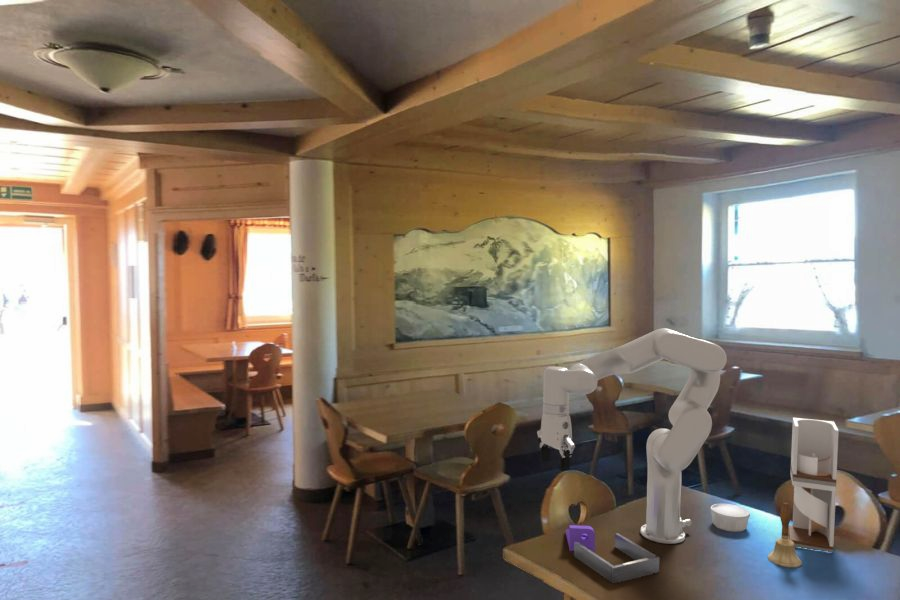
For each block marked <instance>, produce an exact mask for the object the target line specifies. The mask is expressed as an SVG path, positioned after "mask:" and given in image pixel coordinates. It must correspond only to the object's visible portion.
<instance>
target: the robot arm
mask: <svg viewBox="0 0 900 600" xmlns="http://www.w3.org/2000/svg"><path fill="white" fill-rule="evenodd" d="M727 359H728V358H727V354H726V352H725V350H724V349H723V348H722V346H720V345H719V344H716V343H714V342H711V341H709V340H705V339H701V338H700V339H699V338H695V337H692V336H689V335H686V334H683V333H681V332H678V331H675V330H673V329H670V328H666V327H664V328H662V327H661V328H658V329H656V330H653V331H651V332H648V333H647V334H644V335H642V336H640V337H638V338H635V339H634V340H632V341H629V342H627V343H625V344H622V345H620V346H617V347H614V348H611V349H609V350H607V351H603V352H600V353H596V354H594V355H593V356H590V357H587V358H585V359H584V360H582V361H578V362H577V363H575V364H573V365H572V366H571V367H570V368H569V369H568V368H567V367H563V366H547V367H546V368H544V371H543V394H542V395H543V396H542V397H543V399H542V400H543V401H542V402H543V403H542V415H541V423H540V429H539V430H536V431H537V432H536V434H537V441H538V443H539V448H540V451H539V452H540V455H539V456H540V458H539V459H540V460H539V461H540V462H548V461H550V460H551V448H553V449H555V450H559V451H558V452H559V454H560V457H559V471H561V472H564V471H565V472H567V471H569V470H570V469H571V467H570V466H571V465H570V464H571V463H570V462H571V457H572V456H573V453H574V450H575V448H576V445H575V443H574V442H573V432H572V431H573V429H572V420H571V415H570V414H569V413H570V412H569V409H570V408H569V407H570V393H571V394H578V395H588V394H591V393H593V392H594V391H595V390H596V388H597V386H598V381H600V380H602V379H604V378H607V377H609V376H614V375H628V374H633V373H637V372H638V371H640V370H643V369H644V368H647V367H649V366H651V365H653V364H655V363H658V362H661V361H662V360H666V361H669V362H671V363H674V364H676V365H679V366H683V367H686V368H689V376H688V378H687V381H686V382H685V385H684V386H683V388H682V390H681V392H680V393H679V394H678V396H677V398H676V399H675V400H674V402H673V404H671V407H670V408H669V410H668V420H669V422H670V424H671V425H672V427H671V428H670V429H669V428H658V429H655V430H653V431H651V433H650V434H649V436H648V438H647V440H646V447H645V448H646V461H647V481H646V512H645V514H646V515H645V520H646V521H645V524H643V525H642V526H641V527H640V532H639V533H640V534H641V536H643V537H644V538H646V539H647V540H649V541H652V542H655V543H660V544H668V545H669V544H680V543H682V542H684V541H685V539H686V532H685V531H684V530H683V529H684V528H685V527H690V526H692V525H693V522H692V520H691V519H690V518H687V519H682V517H681V500H682V497H681V496H682V472H683V471H684V470H685V469H686V468H688V466H690V465H691V463H692V462H693V460H694V459H695V458H696V456H697V454H698V453H699V451H701V450H700V449H701V448H702V446H703V445H704V443H705V442H706V441H707V439H708V438H709V435H710V433H711V431H712V426H713V421H712V416H711V414H710V413H709V411H708V409H709V407H710V405H711V403H712V402H713V400H714V399H715V397H716V395H717V394H718V391H719V388H720V383H721V372H720V371H722V370H723V369H724V368H725V366H726V365H727Z"/></svg>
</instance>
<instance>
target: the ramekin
mask: <svg viewBox="0 0 900 600" xmlns="http://www.w3.org/2000/svg"><path fill="white" fill-rule="evenodd" d="M710 513H711V520H712V521H711V522H712V524H713V525H714V526H715V527H716V528H718V529H719V530H722V531H725V532H732V533H740V532H743V531H745V530H746V529H747V528H748V524H749V519H750V516H751V512H750V510H748V509H747V508H745V507H743V506H740V505H737V504H730V503H715V504H712V505H711V506H710Z"/></svg>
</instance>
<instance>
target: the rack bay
mask: <svg viewBox="0 0 900 600" xmlns="http://www.w3.org/2000/svg"><path fill="white" fill-rule="evenodd" d="M615 547H616V548H617V549H616V548H615ZM614 548H615V549H616V550H618V549H619V550H618V551H620V552H621V551H622V552H621V553H623V554H624V553H625V555H626V556H628V557H629V556H630V557H629V558H631V559H633V560H632V561H627V562H625V563H619V564H616V565H614V564H612V563H610V562H609V561H608V560H605V559H604V557H601V556H600V555H598V554H597V553H595V552H592V551H591V550H589V549H588V548H586V547H585V546H583V545H582V544H580V543H579V542H574V551H573V557H574V558H575V559H577V560H578V561H579V562H581V563H583V565H585V566H587V567H588V568H589V569H591V570H592V571H594V572H595V573H597V574H598V573H599V574H598V575H600V576H601V577H602V576H603V578H604V579H605V578H606V579H605V580H607V581H608V580H609V581H608V582H610V583H611V582H612V583H614V584H617V582H618V583H622V582H626V581H629V580H630V581H631V580H633V579H639V578H642V576H643V577H646V575H647V576H649V575H650V574H651V575H654V574H653V573H655V574H657V573H658V572H659V573H660V557H659V556H657V555H656V554H654V553H652V552H651V551H649V550H647V549H646V548H644V547H642V546H641V545H639V544H637V543H636V542H634V541H633V540H630V539H629V538H627V537H625V536H624V535H622V534H620V533H619V532H618V533H615V534H614ZM621 581H622V582H621ZM612 583H611V584H612Z"/></svg>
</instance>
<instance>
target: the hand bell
mask: <svg viewBox="0 0 900 600" xmlns="http://www.w3.org/2000/svg"><path fill="white" fill-rule="evenodd" d="M791 516H792V511H791V509H790V505H789V503H788V502H787V501H786V502H783V503H782V506H781V507H780V512H779V518H780V522H781V537H779V538H776V540H775V544H774V548H773V550H772V551H771V552H770V553H768V555H767V559H768V561H770V562H771V563H772V564H774V565H777V566H781V567H786V568H799V567H801V566H802V565H803V562H802V560H801V559H800V558H799V556H798V555H797V552H796V548H795V547H794V542H793V541H791V540H789V534H788V533H789V532H788V526H789V525H790V522H791V519H792V517H791Z"/></svg>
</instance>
